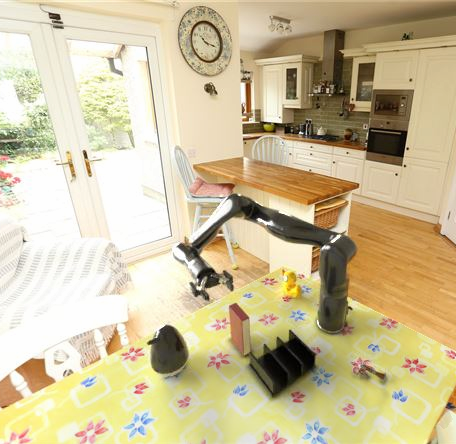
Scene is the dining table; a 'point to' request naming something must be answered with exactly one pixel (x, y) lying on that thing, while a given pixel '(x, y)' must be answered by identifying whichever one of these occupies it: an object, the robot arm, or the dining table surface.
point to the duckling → (291, 284)
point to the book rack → (283, 363)
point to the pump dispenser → (168, 351)
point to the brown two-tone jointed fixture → (372, 371)
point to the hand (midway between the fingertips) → (220, 293)
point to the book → (240, 328)
